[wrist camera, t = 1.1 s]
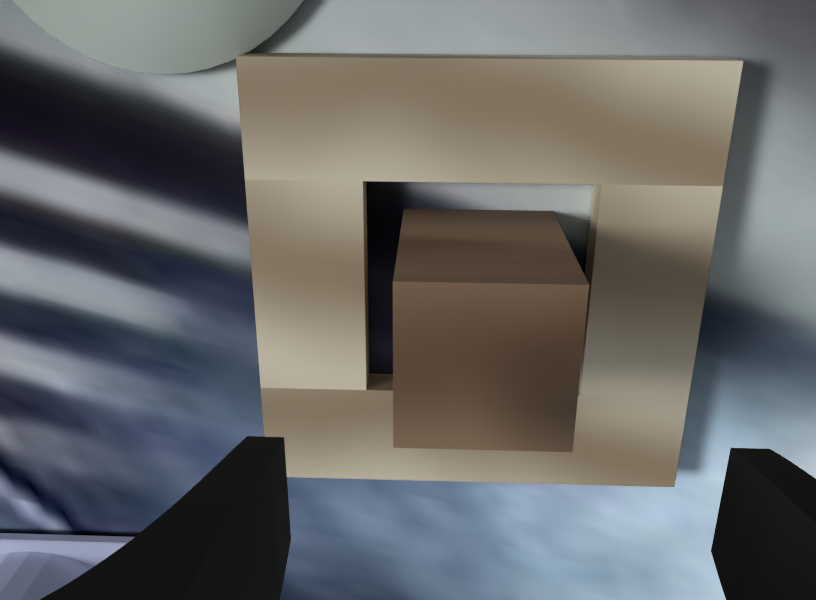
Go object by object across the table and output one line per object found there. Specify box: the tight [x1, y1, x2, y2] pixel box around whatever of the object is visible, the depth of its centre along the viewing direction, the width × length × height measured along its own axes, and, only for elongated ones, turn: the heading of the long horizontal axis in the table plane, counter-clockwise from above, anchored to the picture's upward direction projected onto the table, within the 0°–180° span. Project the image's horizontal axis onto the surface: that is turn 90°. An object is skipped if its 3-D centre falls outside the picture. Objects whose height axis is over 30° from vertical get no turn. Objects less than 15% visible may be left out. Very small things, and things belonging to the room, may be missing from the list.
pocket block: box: [236, 53, 743, 487], centre depth 21 cm, size 12×12×1 cm
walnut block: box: [393, 209, 589, 452], centre depth 19 cm, size 4×4×6 cm
